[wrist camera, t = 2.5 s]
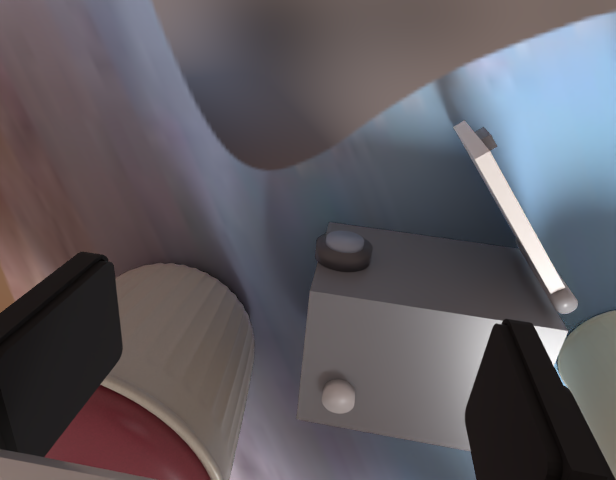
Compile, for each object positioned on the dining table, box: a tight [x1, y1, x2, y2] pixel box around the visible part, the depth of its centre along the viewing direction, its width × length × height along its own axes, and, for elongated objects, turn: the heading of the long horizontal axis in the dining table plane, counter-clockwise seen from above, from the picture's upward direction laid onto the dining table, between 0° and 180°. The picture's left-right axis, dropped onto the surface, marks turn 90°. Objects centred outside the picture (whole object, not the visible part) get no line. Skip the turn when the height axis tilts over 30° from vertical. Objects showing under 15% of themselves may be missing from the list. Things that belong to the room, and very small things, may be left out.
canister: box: [45, 263, 255, 480], centre depth 31 cm, size 18×18×21 cm
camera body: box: [296, 222, 568, 451], centre depth 31 cm, size 14×11×11 cm
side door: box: [453, 120, 578, 314], centre depth 28 cm, size 10×2×8 cm, turn 35°
